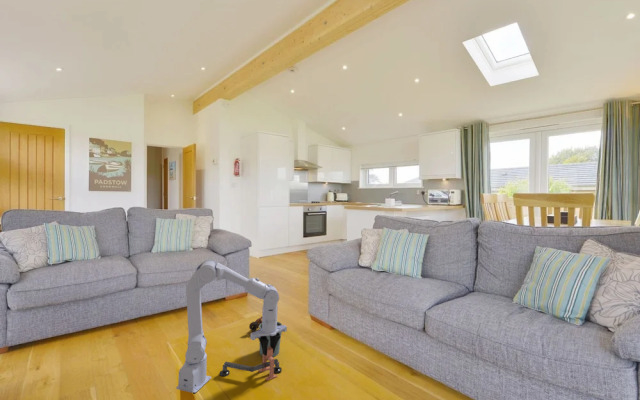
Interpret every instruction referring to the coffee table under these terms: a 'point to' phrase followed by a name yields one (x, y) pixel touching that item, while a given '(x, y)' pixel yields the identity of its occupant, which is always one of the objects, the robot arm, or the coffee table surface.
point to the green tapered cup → (269, 342)
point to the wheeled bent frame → (249, 367)
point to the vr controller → (255, 324)
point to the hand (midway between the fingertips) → (268, 353)
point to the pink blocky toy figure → (271, 359)
